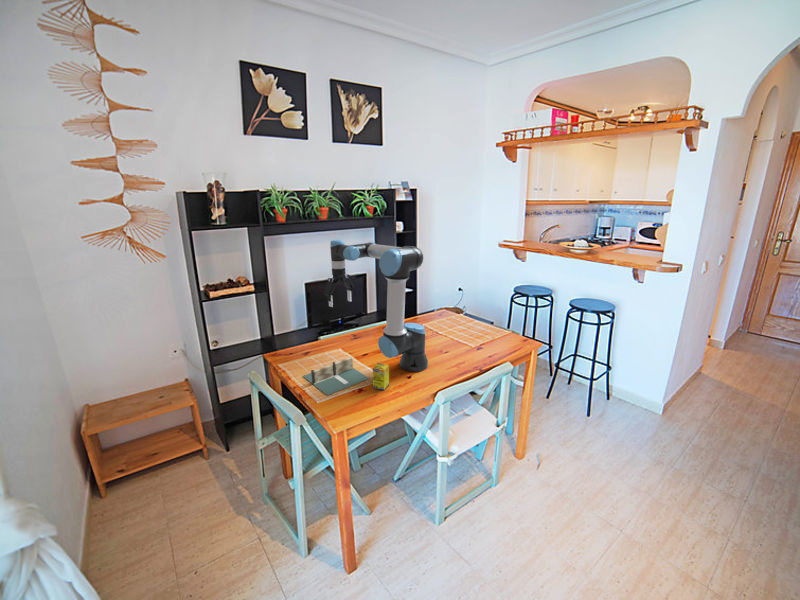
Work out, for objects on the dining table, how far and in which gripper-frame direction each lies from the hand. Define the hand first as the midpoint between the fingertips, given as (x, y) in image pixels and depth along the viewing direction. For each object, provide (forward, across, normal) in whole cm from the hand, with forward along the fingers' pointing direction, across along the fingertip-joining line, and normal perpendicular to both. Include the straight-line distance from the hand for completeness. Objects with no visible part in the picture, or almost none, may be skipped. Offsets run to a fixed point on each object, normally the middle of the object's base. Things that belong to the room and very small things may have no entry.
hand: (340, 303), depth 216 cm
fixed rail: (+27, +32, +25) cm, 49 cm away
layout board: (+27, +26, +28) cm, 47 cm away
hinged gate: (+26, +21, +26) cm, 42 cm away
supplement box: (+27, +17, +50) cm, 60 cm away
